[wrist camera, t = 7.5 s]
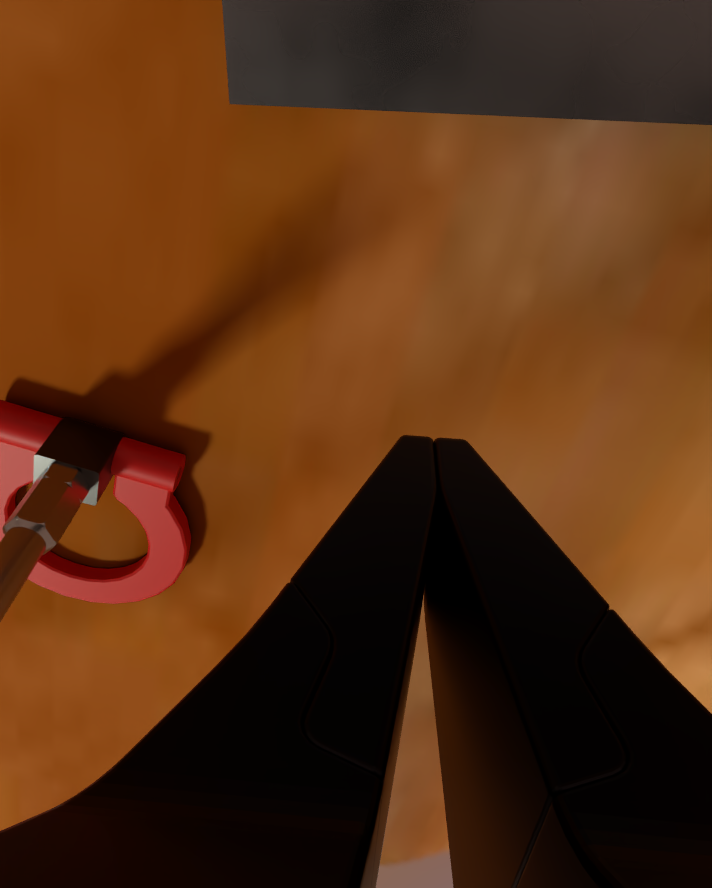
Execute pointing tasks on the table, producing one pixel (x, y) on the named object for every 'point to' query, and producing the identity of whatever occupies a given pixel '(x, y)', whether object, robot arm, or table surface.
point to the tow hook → (84, 480)
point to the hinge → (476, 57)
